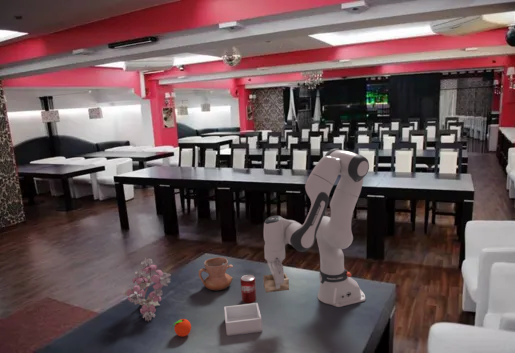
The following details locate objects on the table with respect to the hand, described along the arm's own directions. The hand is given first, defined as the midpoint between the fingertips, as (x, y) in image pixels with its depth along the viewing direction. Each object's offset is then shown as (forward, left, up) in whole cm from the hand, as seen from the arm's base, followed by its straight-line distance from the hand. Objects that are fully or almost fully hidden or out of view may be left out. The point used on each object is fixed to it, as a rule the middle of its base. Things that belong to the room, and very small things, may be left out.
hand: (276, 283), depth 168 cm
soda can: (+10, -19, -17) cm, 28 cm away
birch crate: (0, 0, -2) cm, 2 cm away
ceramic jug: (+25, -37, -17) cm, 48 cm away
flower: (+57, -18, -17) cm, 63 cm away
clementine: (+41, +3, -17) cm, 45 cm away
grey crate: (+15, +1, -17) cm, 23 cm away
